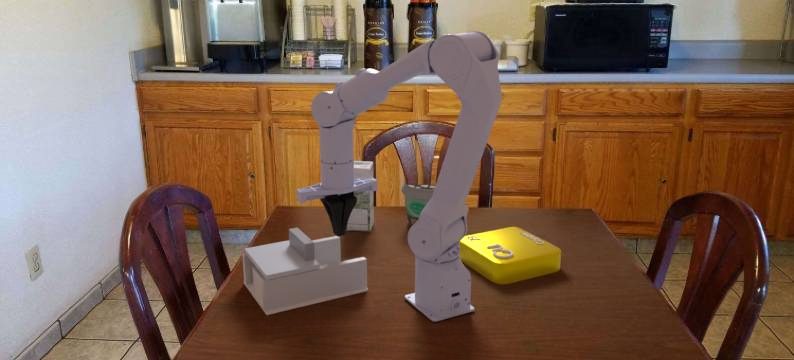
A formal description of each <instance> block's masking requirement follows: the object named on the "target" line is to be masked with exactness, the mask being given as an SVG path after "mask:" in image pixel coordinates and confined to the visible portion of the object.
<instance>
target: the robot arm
mask: <svg viewBox="0 0 794 360" xmlns="http://www.w3.org/2000/svg"><path fill="white" fill-rule="evenodd" d="M500 57H501V56H500V53H499V51H498V49H497V48H496V46H495V45H494V42H493V41H492V39H491V37H489V36H488V35H487V34H486V33H484V32H482V31H479V30H471V31H468V32H462V33H447V34H446V33H445V34H442V35H440V36H438V37H437V38H436V39H432V40H429V41H426V42H424V43H422V44H421V45H419V46H417V47H416V48H414V49H413V50H410V52H408V53H406V54H404V55H403V56H402V57H400V58H399V59H397V60H395V61H394V62H392V63H390V64H389V65H387V66H386V67H384V68H382V69H381V70H378V69H374V68H364V67H363V68H359V69H357V70H356V71H354V74H355V76H353V77H352V78H350V79H348V80H346V81H345V82H343V81H340V82H337V83H335V84H334V88H333V90H329V91H328V90H327V91H325V90H324V91H319V92H318V94H317V95H315V96H314V97H313V99H312V101H311V105H310V106H311V107H310V109H311V110H310V112H311V116H312V117H313V120H314V121H315V122H316V123H317V124H318V130H319V131H318V134H319V158H320V159H319V162H320V183H316V184H313V185H310V186H307V187H302V188H297V189H296V200H297V202H298V203H301V204H304V203H307V202H308V201H314V200H315V201H316V200H320V202H321V203H322V206H323V207H324V209H325V211H326V213H327V215H328V218H329V220H330V224H331V228H332V231H333V234H334V236H338V237H343V236H346V232H347V231H346V227H347V223H348V220H349V217H350V214H351V212H352V210H353V208H354V206H355V205H356V203H357V197H356V196H354V193H357V192H363V191H369V190H371V191H373V192H376V191H378V180H377V179H376V178H374V177H373V178H365V179H354V161H355V160H354V159H355V158H354V154H355V153H354V129H355V123H356V120H357V118H358V116H359V115H361V114H363V113H365V112H367V111H368V110H370V109H372V108H375V107H376V106H378V105H380V104H382V103H384V102H385V101H387V99H388V97H389V93H390V91H391V89H393V88H396V87H397V86H400V85H402V84H403V83H405V82H408V81H409V80H412V79H413V78H415V77H418V76H419V75H422V74H424V73H425V74H428V75H429V74H430V75H431V74H436V75H437V76H438V78H439V79H441V81H443V82H444V83H445V85H447V87H449V88H450V89H451V90H452V91H453V92H454V93H455V94H456V96H457V98H458V100H459V101H460V104H461V107H460V108H461V109H460V111H459V114H458V117H457V119H456V123H455V126H454V129H453V132H452V136H451V138H450V142H449V144H448V147H447V151H446V153H445V157H444V160H443V162H442V166H441V169H440V171H439V174H438V178H437V180H436V184H435V185H436V186H435V189H434V192H433V195H432V198H431V199H430V201H429V202H428V203H427V205H426V206H425V207H424V209H423V210H422V211H421V213H420V216H419V219H418V221H417V222H416V223H415V224H414V225H412V227H411V228H409V230H408V232H407V244H408V247H409V248H410V250H411V252H412V254H414V259H415V262H414V263H415V264H414V268H415V269H414V273H415V274H414V292H413V293H409V294H405V296H404V299H405V300H406V301H407V302H409V303H410V304H411V305H412V306H413V307H415V308H416V309H417V310H418V311H419V312H421V313H422V314H423V315H424V316H425V317H427V318H428V319H429V320H430V321H432V322H434V323H435V322H440V321H444V320H446V319H450V318H454V317H457V316H462V315H464V314H468V313H471V312H474V311H475V307H474V306H473V305H472V304H471V296H472V294H471V293H472V275H471V272H470V271H469V269H468V268H466V266H465V264H463V262H462V261H461V258H460V241H461V240H462V239H463V238H464V237H465V236H467V233H468V222H467V219H468V218H467V216H468V213H469V210H470V208H469V206H468V205H467V204H466V202H467V200H468V197H469V193H470V191H471V188H472V185H473V182H474V180H475V177H476V174H477V172H478V169H479V167H480V163H481V161H482V156H483V155H484V152H485V149H486V146H487V143H488V140H489V138H490V135H491V132H492V130H493V127H494V124H495V121H496V119H497V115H498V114H499V113H498V112H499V110H500V107H501V105H502V104H501V103H502V100H503V99H502V98H503V95H502V89H501V80H500V73H499V68H498V67H499V66H498V65H499V61H500Z"/></svg>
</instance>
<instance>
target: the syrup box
mask: <svg viewBox="0 0 794 360" xmlns="http://www.w3.org/2000/svg"><path fill="white" fill-rule="evenodd" d="M365 178H374V161H361V160H359V161H358V160H354V179H365ZM354 196H356V197H357V203H356V205H355V206H354V208H353V210H352V212H351V214H350V217H349V220H348V223H347V227H346V232H363V233H364V232H365V233H366V232H368V233H369V232H371V231H372V228H373V226H374V224H373V223H375V220H374V219H375V214H374V212H375V211H374V191H371V190H369V191H363V192H357V193H354Z"/></svg>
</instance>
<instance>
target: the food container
mask: <svg viewBox="0 0 794 360" xmlns="http://www.w3.org/2000/svg"><path fill="white" fill-rule="evenodd" d="M435 186H436V184H431V183H430V184H429V183H425V184H415V183H414V184H413V183H406V179H404V180H403V183H402V186H401V189H400V191H401V193H402V194H403V196H404V200H405V211H406V219H407V221H406V222H407V227H408V228H409V229H410V228H411V227H412V225H414V224H415V223H416V222H417V221H418V219H419V216H420V213H421V211H422V210H423V209H424V207H425V206H426V205H427V203H428V202H429V201H430V199H431V198H432V195H433V192H434V189H435Z"/></svg>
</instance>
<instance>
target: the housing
mask: <svg viewBox="0 0 794 360" xmlns="http://www.w3.org/2000/svg"><path fill="white" fill-rule="evenodd" d="M311 240H312V239H311ZM312 241H313V242H314V250H315V260H316V261H317V262H318V263H319V264H320V269H316V270H312V271H307V272H302V273H298V274H293V275H288V276H284V277H279V278H274V279H270V280H266V279H265V277H264V276H263V275H262V274H261V272H260V271H259V270H258V269H257V267H256V266H255V265H254V264H253V262H252V261H251V260H250V259H249V257H248V256H247V255H246V254H245V252H244V253H242V254H241V255H242V256H241V257H242V270H243V285H244V286H245V287H246V289H247V290H248V291H249V293H250V294H251V295H252V297H253V298H254V300H255V301H256V303H257V304H258V305H259V306H260V308H261V309H262V311H263V312H264V314H265V316H269V315H273V314H278V313H281V312H285V311H290V310H293V309H294V310H295V309H297V308H302V307H307V306H311V305H314V304H319V303H323V302H327V301H331V300H332V301H333V300H336V299H339V298H344V297H347V296H352V295H356V294H361V293H365V292H368V291H369V288H368V263H367V259H368V258H366V257H365V256H361V257H355V258H351V259H346V260H343V261H341V260H342V259H341V253H342V252H341V236H339V237H338V236H336V235H334V236H329V237H323V238H317V239H313V240H312Z"/></svg>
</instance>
